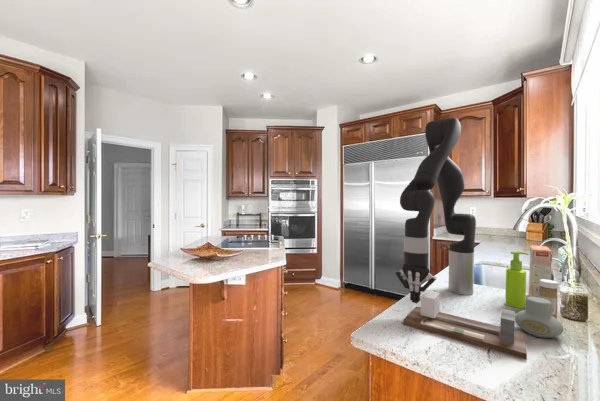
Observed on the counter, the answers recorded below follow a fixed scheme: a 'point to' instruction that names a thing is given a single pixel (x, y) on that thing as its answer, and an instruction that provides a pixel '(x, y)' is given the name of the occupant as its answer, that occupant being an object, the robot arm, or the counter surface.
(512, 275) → the soap dispenser
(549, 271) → the cracker box
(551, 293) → the sprinkles bottle
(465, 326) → the base
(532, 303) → the air freshener
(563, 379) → the counter surface
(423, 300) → the block
